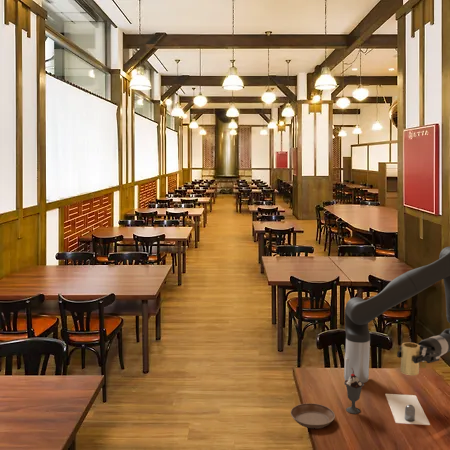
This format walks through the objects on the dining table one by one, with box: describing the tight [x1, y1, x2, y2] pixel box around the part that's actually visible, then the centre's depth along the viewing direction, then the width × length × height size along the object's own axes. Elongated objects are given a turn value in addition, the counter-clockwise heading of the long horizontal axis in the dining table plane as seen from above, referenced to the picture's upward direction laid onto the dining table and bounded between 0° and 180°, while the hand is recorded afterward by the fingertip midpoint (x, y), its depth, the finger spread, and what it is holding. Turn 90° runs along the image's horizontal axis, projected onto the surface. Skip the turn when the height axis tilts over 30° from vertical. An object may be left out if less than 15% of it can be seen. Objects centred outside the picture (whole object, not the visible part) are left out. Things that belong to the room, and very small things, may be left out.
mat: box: [385, 393, 431, 426], centre depth 187 cm, size 11×22×1 cm, turn 173°
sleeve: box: [400, 341, 420, 376], centre depth 191 cm, size 6×6×10 cm
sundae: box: [343, 368, 365, 415], centre depth 187 cm, size 7×7×15 cm
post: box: [405, 405, 415, 422], centre depth 179 cm, size 3×3×5 cm
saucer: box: [290, 402, 336, 429], centre depth 181 cm, size 15×15×3 cm
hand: (406, 357), depth 189 cm, fingers closed on sleeve, 6 cm apart
